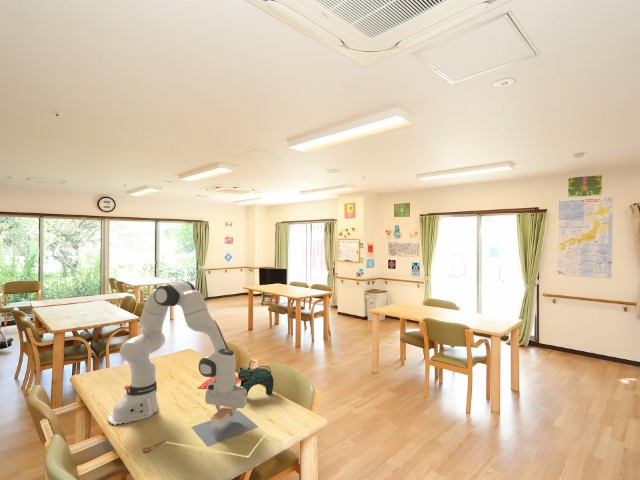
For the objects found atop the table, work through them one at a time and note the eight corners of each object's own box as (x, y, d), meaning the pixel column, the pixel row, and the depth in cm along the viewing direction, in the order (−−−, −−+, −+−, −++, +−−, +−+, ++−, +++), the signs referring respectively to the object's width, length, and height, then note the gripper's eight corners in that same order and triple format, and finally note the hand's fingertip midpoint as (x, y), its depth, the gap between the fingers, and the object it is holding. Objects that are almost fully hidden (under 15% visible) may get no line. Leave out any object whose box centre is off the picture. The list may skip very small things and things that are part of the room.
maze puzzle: (229, 391, 196) (229, 390, 196) (197, 389, 199) (197, 388, 199) (243, 378, 215) (243, 377, 215) (214, 376, 219) (214, 375, 219)
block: (221, 418, 149) (236, 404, 162) (211, 417, 150) (227, 403, 163) (221, 428, 149) (236, 412, 162) (211, 426, 150) (227, 411, 163)
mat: (207, 448, 141) (207, 446, 141) (191, 428, 156) (191, 426, 156) (258, 428, 156) (258, 426, 156) (238, 411, 171) (238, 410, 171)
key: (172, 434, 153) (138, 450, 140) (172, 432, 153) (138, 448, 141) (180, 437, 149) (145, 454, 137) (180, 435, 149) (145, 452, 137)
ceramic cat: (238, 402, 182) (238, 364, 182) (236, 397, 188) (236, 361, 188) (274, 395, 190) (274, 359, 190) (271, 390, 196) (271, 356, 196)
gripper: (249, 384, 158) (249, 414, 158) (211, 380, 163) (211, 409, 163) (243, 390, 152) (243, 421, 152) (203, 385, 157) (203, 415, 157)
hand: (226, 414), depth 158 cm, fingers closed on block, 5 cm apart
